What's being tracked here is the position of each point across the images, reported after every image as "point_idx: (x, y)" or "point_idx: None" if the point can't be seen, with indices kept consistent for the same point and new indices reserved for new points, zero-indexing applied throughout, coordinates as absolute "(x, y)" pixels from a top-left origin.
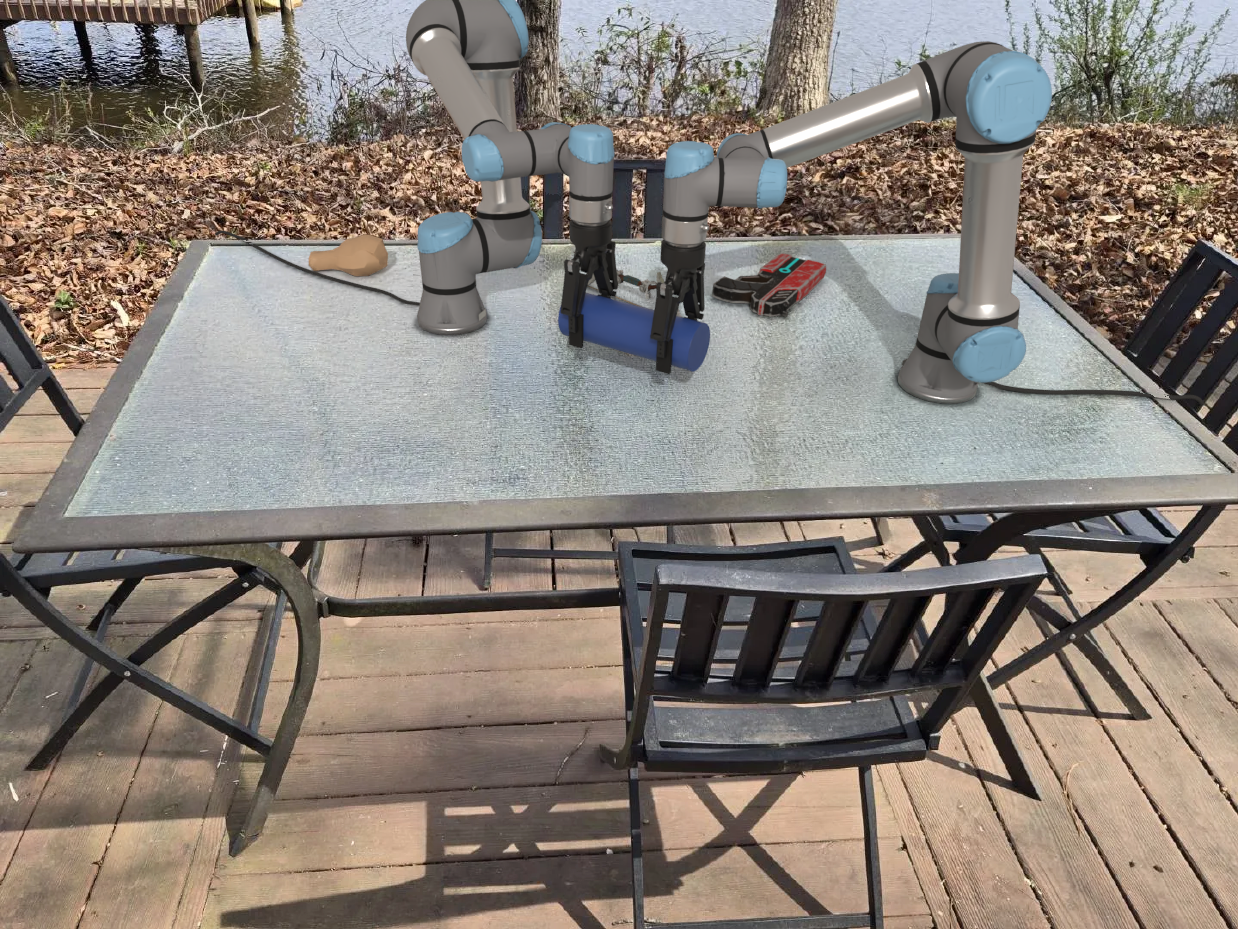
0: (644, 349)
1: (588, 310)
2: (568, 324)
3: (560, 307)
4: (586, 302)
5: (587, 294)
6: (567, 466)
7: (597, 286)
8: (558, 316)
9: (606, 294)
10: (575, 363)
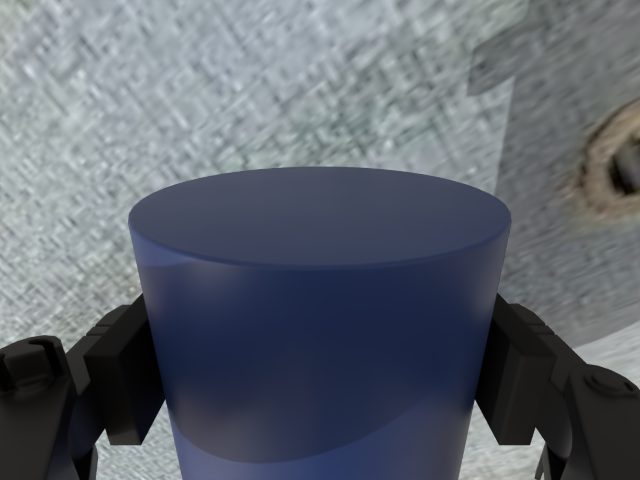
0: None
1: (188, 468)
2: (86, 333)
3: (132, 227)
4: (220, 471)
5: (341, 445)
6: (19, 335)
7: (582, 437)
8: (137, 204)
9: (545, 431)
10: (442, 73)
